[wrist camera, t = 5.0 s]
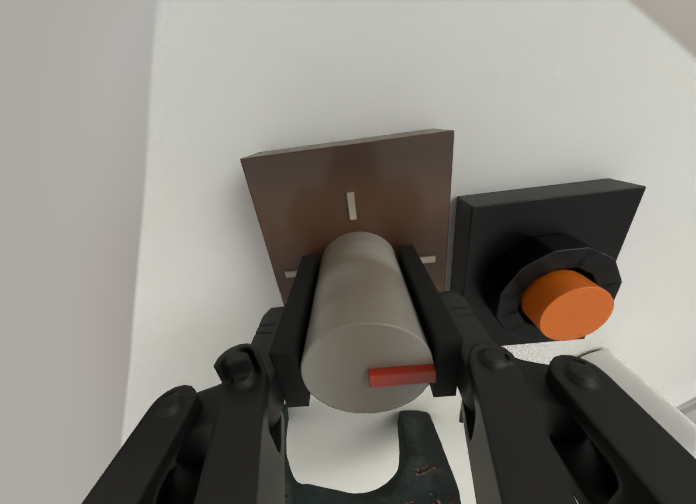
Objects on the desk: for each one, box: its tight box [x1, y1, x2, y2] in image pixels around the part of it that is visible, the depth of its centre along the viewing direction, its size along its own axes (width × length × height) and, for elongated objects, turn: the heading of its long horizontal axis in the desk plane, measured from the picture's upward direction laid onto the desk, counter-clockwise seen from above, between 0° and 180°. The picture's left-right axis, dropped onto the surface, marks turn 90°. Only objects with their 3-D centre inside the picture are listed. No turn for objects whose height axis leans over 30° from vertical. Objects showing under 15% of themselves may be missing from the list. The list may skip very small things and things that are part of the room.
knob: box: [301, 232, 436, 413], centre depth 11 cm, size 4×4×7 cm
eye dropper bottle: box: [581, 349, 696, 458], centre depth 18 cm, size 4×6×12 cm
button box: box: [451, 179, 646, 346], centre depth 16 cm, size 11×9×4 cm
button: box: [521, 269, 614, 341], centre depth 14 cm, size 4×4×2 cm
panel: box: [240, 129, 454, 307], centre depth 16 cm, size 13×10×3 cm
